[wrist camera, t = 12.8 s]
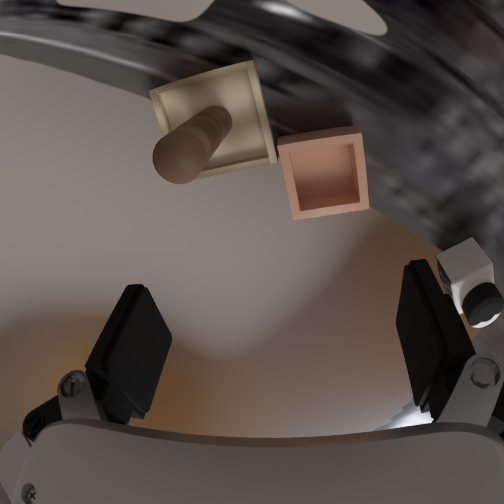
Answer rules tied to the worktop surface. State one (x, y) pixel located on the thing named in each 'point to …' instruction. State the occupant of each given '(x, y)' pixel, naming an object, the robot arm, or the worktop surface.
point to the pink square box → (324, 171)
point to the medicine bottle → (470, 282)
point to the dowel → (191, 145)
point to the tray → (235, 102)
